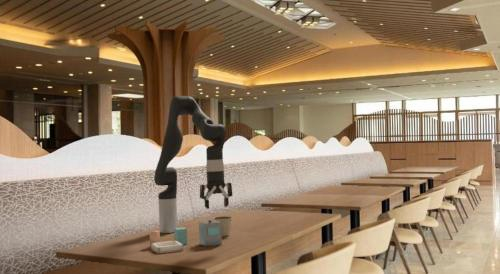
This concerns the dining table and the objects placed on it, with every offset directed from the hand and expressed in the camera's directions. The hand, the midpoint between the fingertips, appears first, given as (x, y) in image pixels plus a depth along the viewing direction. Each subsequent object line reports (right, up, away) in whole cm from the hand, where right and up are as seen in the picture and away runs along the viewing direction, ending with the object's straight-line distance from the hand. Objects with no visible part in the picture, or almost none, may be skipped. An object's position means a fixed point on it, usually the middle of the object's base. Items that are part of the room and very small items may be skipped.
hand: (216, 207), depth 223 cm
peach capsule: (-28, -18, +6) cm, 34 cm away
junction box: (-3, -18, +8) cm, 19 cm away
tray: (-21, -18, -1) cm, 28 cm away
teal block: (-17, -18, +11) cm, 27 cm away
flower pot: (+1, -18, +29) cm, 34 cm away
